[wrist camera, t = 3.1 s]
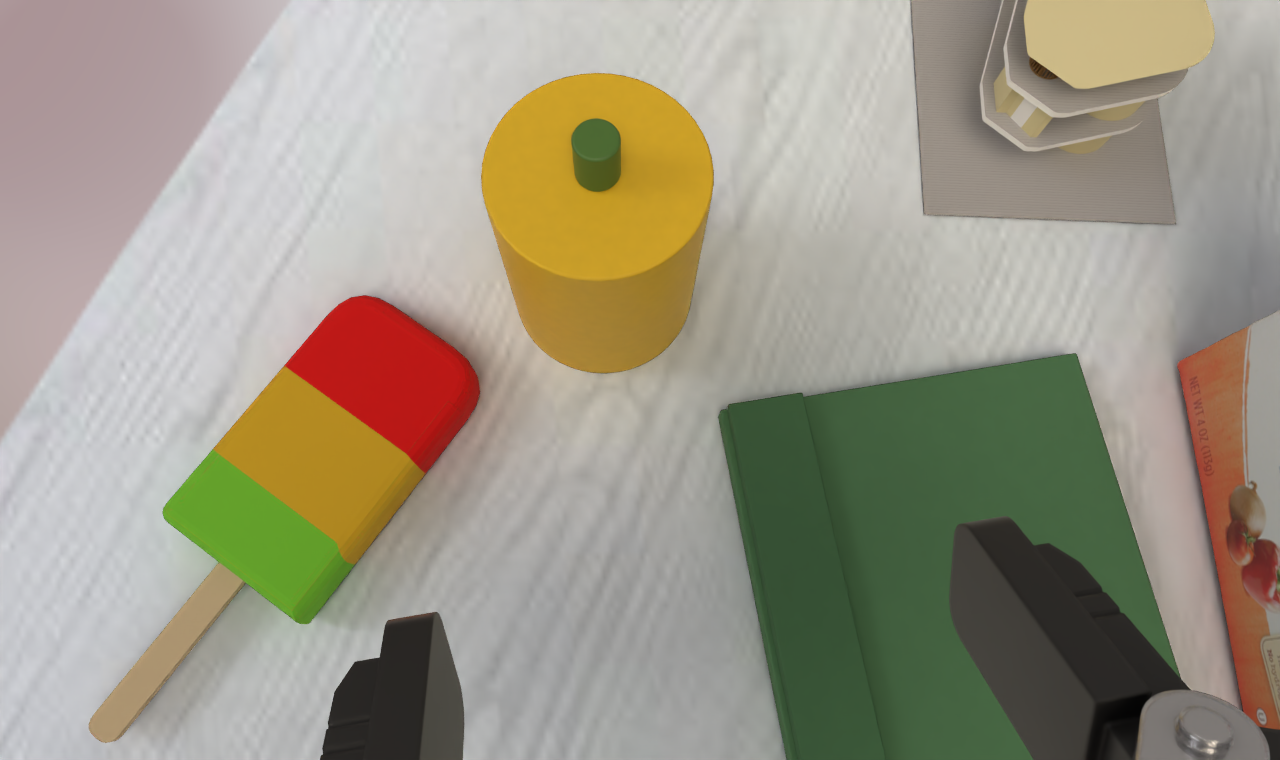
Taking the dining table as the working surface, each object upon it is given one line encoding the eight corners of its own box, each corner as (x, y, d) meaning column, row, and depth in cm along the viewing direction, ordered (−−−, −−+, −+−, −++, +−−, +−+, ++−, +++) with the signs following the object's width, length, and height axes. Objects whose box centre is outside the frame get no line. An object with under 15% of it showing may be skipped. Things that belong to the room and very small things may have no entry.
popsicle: (499, 386, 30) (490, 369, 28) (185, 792, 26) (152, 803, 24) (369, 296, 31) (353, 274, 29) (48, 678, 27) (6, 680, 25)
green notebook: (826, 962, 25) (838, 980, 24) (717, 415, 30) (722, 405, 28) (1230, 880, 26) (1264, 893, 25) (1065, 359, 30) (1085, 346, 29)
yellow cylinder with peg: (528, 386, 30) (486, 270, 21) (505, 224, 32) (457, 49, 22) (706, 358, 30) (742, 233, 21) (674, 199, 32) (695, 18, 23)
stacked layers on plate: (909, -21, 35) (960, -140, 29) (1140, -11, 35) (1233, -128, 30) (924, 214, 32) (983, 129, 27) (1175, 224, 32) (1285, 141, 27)
